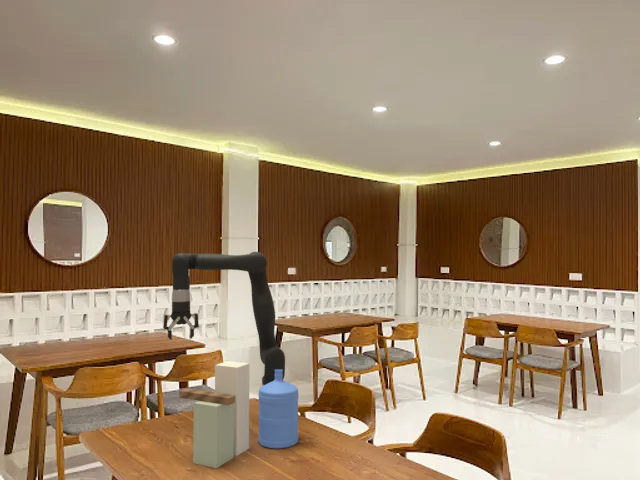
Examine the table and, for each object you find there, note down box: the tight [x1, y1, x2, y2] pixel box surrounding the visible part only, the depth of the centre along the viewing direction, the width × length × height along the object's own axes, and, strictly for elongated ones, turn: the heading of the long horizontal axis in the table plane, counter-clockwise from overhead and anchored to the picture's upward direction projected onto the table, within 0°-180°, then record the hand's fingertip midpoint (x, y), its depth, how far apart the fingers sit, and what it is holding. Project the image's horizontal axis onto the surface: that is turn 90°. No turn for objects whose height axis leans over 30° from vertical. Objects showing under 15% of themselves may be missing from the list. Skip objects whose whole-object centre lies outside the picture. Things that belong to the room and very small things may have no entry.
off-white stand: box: [214, 360, 250, 457], centre depth 192 cm, size 10×8×32 cm
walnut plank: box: [178, 387, 235, 405], centre depth 184 cm, size 22×4×2 cm, turn 64°
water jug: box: [257, 369, 299, 449], centre depth 201 cm, size 16×16×28 cm
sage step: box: [192, 400, 234, 469], centre depth 182 cm, size 10×10×21 cm
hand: (181, 338), depth 215 cm, fingers open, 8 cm apart
